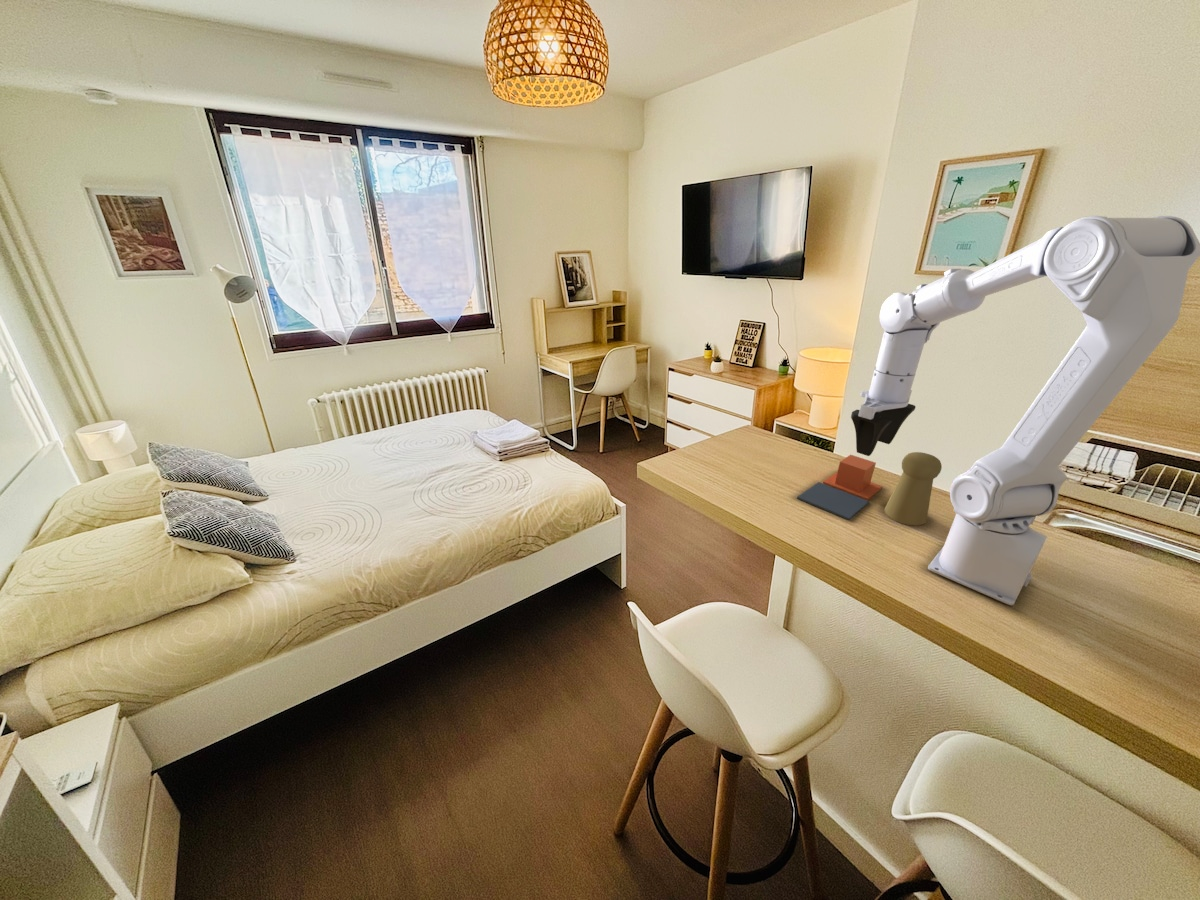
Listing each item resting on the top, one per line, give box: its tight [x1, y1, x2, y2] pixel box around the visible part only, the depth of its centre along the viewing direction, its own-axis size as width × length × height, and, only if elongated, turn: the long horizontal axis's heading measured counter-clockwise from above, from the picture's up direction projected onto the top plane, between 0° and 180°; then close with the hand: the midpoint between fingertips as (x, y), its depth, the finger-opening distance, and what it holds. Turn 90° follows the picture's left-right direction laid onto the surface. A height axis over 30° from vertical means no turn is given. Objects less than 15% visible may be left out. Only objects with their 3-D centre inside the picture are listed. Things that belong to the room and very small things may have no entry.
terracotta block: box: [835, 454, 877, 492], centre depth 85 cm, size 4×4×4 cm
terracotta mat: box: [822, 472, 883, 501], centre depth 86 cm, size 8×6×1 cm
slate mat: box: [796, 481, 870, 521], centre depth 81 cm, size 9×8×1 cm
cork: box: [883, 451, 943, 527], centre depth 75 cm, size 6×6×11 cm
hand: (873, 447), depth 81 cm, fingers open, 7 cm apart
